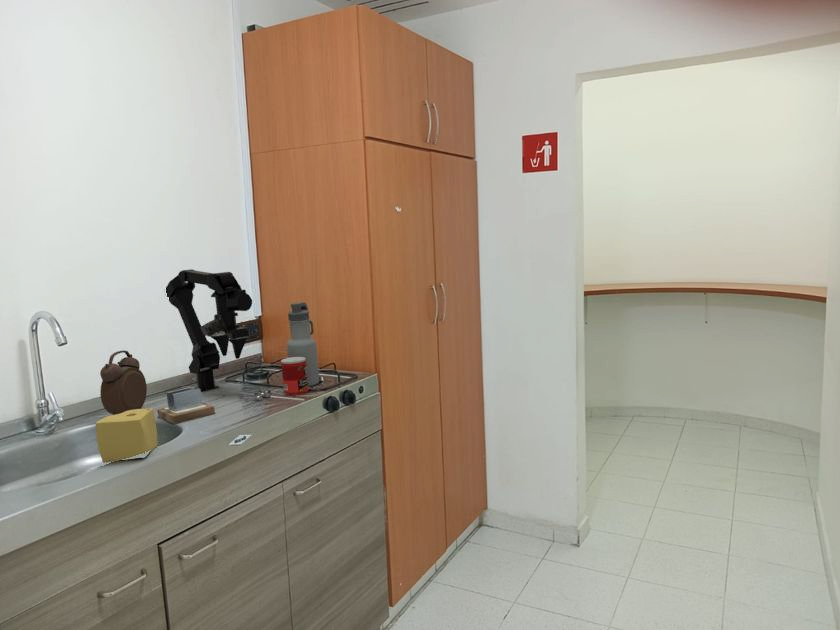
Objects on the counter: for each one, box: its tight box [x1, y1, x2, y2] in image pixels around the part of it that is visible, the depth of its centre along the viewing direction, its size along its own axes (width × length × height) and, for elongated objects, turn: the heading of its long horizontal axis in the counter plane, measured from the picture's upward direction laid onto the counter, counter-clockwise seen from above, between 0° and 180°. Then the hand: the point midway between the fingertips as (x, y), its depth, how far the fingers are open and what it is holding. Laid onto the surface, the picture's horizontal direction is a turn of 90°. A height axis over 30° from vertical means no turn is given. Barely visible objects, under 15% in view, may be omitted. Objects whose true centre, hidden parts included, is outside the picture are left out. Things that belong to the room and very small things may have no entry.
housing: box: [166, 386, 203, 412], centre depth 181 cm, size 8×5×5 cm, turn 134°
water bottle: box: [286, 301, 320, 388], centre depth 209 cm, size 10×10×28 cm
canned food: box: [280, 357, 309, 396], centre depth 200 cm, size 8×8×11 cm
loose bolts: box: [253, 389, 272, 402], centre depth 197 cm, size 6×8×2 cm
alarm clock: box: [99, 350, 148, 415], centre depth 183 cm, size 15×7×20 cm, turn 171°
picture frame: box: [156, 401, 216, 425], centre depth 181 cm, size 12×12×2 cm
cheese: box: [95, 407, 158, 463], centre depth 149 cm, size 10×11×10 cm
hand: (231, 357), depth 204 cm, fingers open, 9 cm apart
